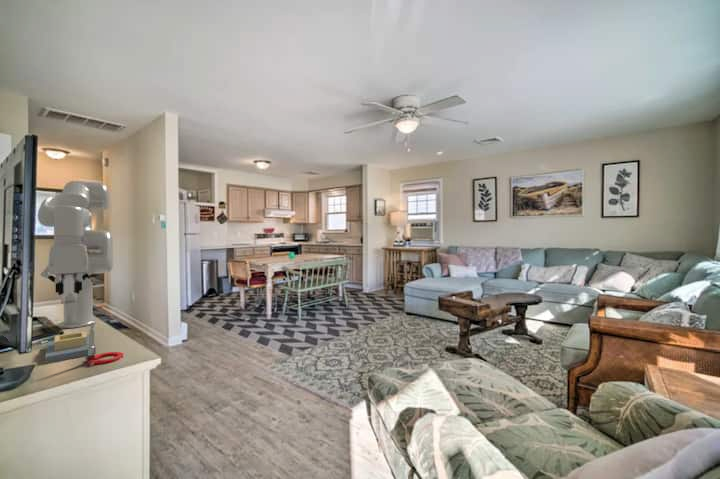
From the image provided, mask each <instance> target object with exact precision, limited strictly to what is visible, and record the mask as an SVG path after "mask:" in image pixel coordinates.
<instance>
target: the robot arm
mask: <svg viewBox="0 0 720 479" xmlns="http://www.w3.org/2000/svg"><path fill="white" fill-rule="evenodd" d="M110 204H111V201H110V192H109V189H108V187H107V185H105V184H104V183H101V182H96V181H95V182H92V181H83V180H82V181H81V180H72V181H68V182H66V184H65V185H64V187H63V189H62V191H61V192H59V194H58V195H53V196H50V197H47V198H45V199H44V200H42V202H41V203H40V206H39V207H38V208H39V209H38V212H37V220H38V222H39V223H40V225H42V226H43V227H49V228H53V245H52V244H51V245H50V248H49V252H48V265H47V266H46V267H45V269H44V270H43V271H42V272H41V273H40V274H39V275H40V276H41V277H43V278H46V279H48V280H50V281H51V282H52V283H54V284H55V293H56V294H57V293H58V296H61V274H75V273H77V302H75V303H69V304H63V321H62V322H60V323H58V327H59V328H61V329H72V328H81V327H86V326H91V323H92V322H94V324H96V323H97V322H98V318H96V317H94V316H93V315H94V314H93V311H94V310H93V307H94V306H93V305H94V302H93V301H94V300H93V293H94V292H93V288H94V287H93V285H94V284H93V282H92V281H91V279H90V278H88V277H89V276H92V275H94V274H107V273H110V272H111V271H112V269H113V266H114V245H113V244H114V243H113V242H114V241H113V236H112V233H111V232H110V231H108V230H105V229H104V230H101V229H100V230H99V229H98V230H97V229H96V230H95V229H93V214H92V212H91V211H106V210H108V209H109V207H110ZM93 251H94V252H93ZM95 251H98V252H95ZM54 275H55V276H54Z"/></svg>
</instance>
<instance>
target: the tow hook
mask: <svg viewBox="0 0 720 479" xmlns="http://www.w3.org/2000/svg"><path fill="white" fill-rule="evenodd" d="M95 330H96V329H95V323H94V322H92V323H91V325H90V329H89V334H88V335H89V347H88V353H87V355H86V356H85V362H86V363H87V364H88V365H89V366H90V367H94V366H95V365H99V364H108V363H113V362H116V360H117V361H119V360H121V359H123V358H124V352H120V351H111V352H110V351H109V352H103V353H99V354H94V344H95ZM113 355H116V356H113ZM108 356H109V357H111V356H113V357H111V358H107V359H101V358H104V357H108ZM120 358H121V359H120Z"/></svg>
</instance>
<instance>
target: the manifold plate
mask: <svg viewBox="0 0 720 479" xmlns="http://www.w3.org/2000/svg"><path fill="white" fill-rule="evenodd" d="M88 347H89V334H87V332H86V330H85V331H78V332H72V333H64V334H58V335H54V340H51V341H47V342H46V348H45V349H46V350H45V357H44V358H45V359H44V360H45V362H44V364H50V363H54V362H55V363H56V362H59V361H64V360H70V359H75V358H80V357H87V353H88ZM94 355H96V344H95V343H94Z"/></svg>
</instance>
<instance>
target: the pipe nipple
mask: <svg viewBox="0 0 720 479" xmlns="http://www.w3.org/2000/svg"><path fill="white" fill-rule="evenodd" d="M60 281H61V295H60V304H61V305H64V304H69V303H75V302H77V273H75V274H61V277H60Z"/></svg>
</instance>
